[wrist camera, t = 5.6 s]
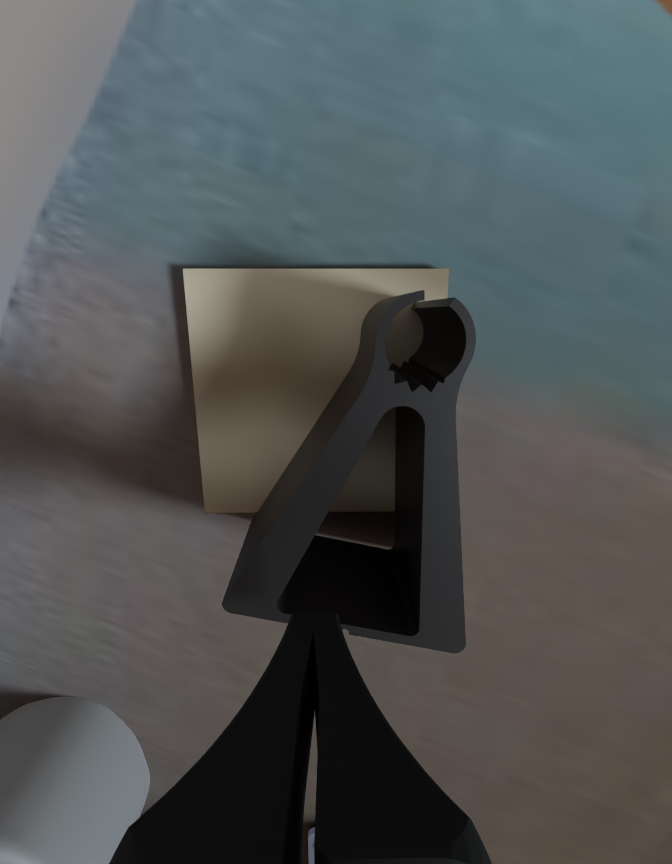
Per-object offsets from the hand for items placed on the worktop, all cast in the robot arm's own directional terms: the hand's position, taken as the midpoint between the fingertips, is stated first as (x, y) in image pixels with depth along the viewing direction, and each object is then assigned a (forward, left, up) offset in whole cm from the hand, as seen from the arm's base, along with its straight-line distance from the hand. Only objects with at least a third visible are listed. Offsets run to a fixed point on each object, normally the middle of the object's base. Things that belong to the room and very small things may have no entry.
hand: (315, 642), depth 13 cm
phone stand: (-2, -1, -6) cm, 6 cm away
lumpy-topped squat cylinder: (-18, +16, -10) cm, 26 cm away
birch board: (+6, 0, -9) cm, 11 cm away
